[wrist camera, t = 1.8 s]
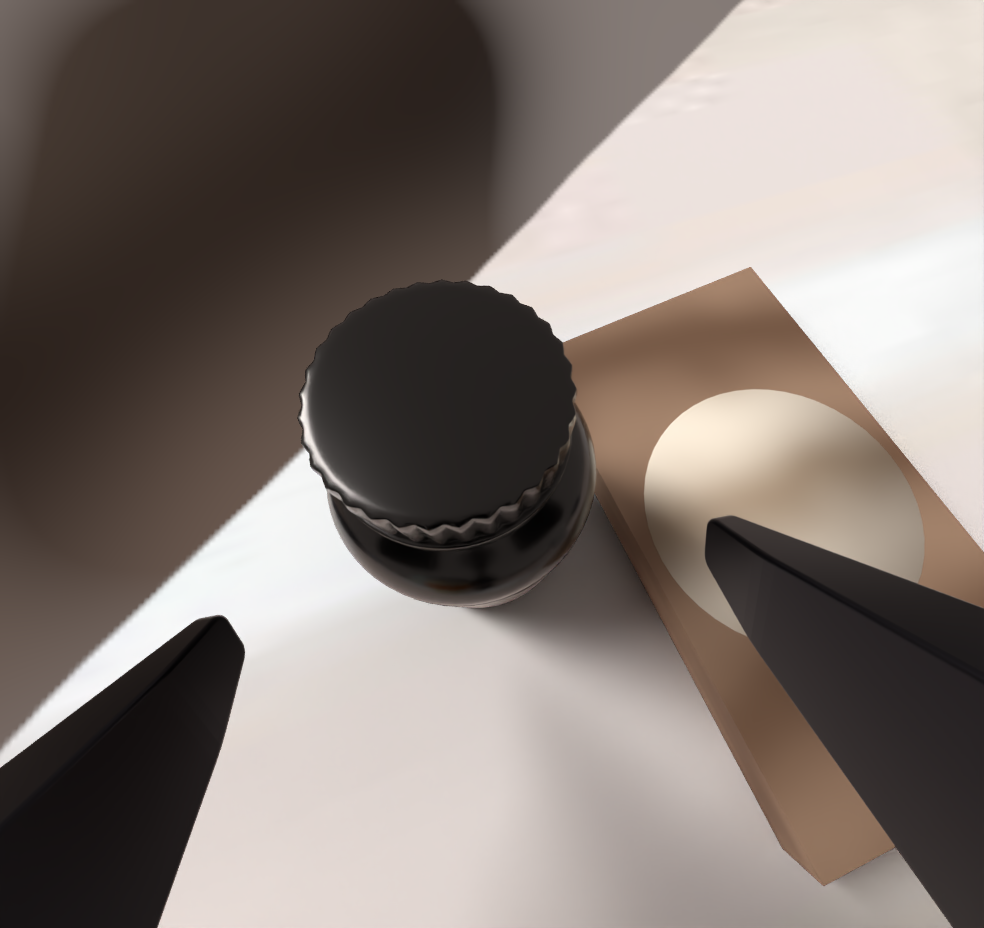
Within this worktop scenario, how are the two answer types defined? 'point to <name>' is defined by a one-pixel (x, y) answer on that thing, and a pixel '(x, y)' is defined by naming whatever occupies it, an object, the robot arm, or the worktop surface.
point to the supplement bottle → (449, 443)
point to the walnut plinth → (755, 518)
